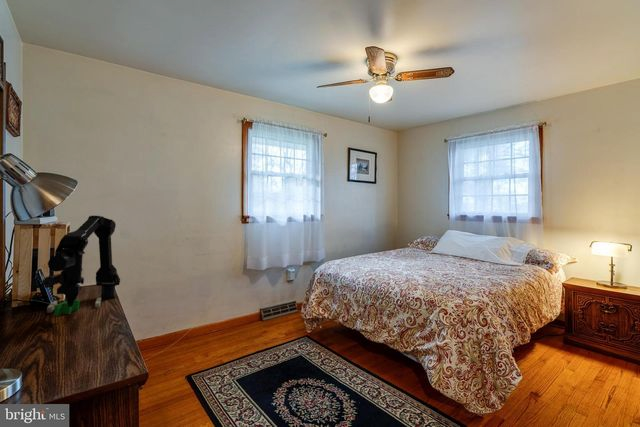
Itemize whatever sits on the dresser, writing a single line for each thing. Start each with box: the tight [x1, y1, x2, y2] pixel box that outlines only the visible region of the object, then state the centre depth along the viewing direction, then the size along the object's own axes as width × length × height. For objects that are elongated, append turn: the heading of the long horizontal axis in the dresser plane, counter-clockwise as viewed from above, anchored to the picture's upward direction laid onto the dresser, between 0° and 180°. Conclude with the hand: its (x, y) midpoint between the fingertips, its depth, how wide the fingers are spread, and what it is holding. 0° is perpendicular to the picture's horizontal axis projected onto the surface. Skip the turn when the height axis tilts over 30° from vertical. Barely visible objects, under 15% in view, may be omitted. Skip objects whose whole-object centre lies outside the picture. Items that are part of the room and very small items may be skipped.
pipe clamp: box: [53, 297, 81, 317], centre depth 126 cm, size 11×4×5 cm, turn 3°
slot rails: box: [46, 296, 102, 314], centre depth 134 cm, size 12×18×2 cm
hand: (70, 306), depth 118 cm, fingers closed
